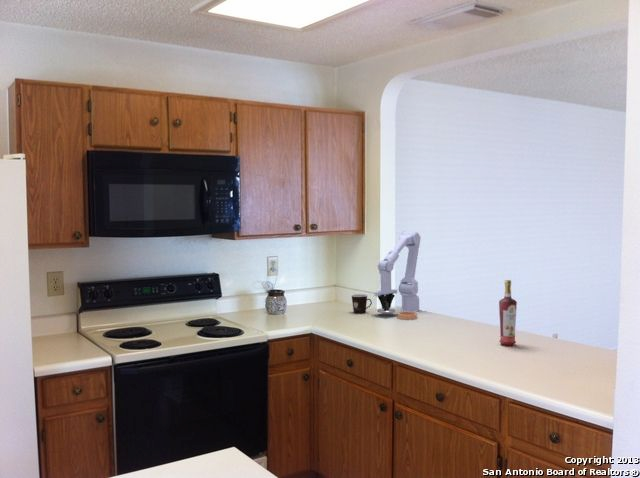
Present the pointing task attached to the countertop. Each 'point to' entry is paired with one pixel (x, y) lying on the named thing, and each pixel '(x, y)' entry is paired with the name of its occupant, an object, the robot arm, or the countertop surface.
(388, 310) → the lid
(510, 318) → the liquor
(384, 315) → the mat
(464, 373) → the countertop surface
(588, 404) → the countertop surface
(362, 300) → the coffee mug
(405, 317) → the bowl
